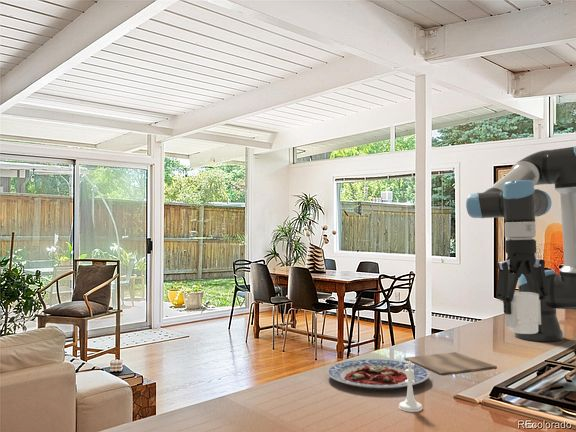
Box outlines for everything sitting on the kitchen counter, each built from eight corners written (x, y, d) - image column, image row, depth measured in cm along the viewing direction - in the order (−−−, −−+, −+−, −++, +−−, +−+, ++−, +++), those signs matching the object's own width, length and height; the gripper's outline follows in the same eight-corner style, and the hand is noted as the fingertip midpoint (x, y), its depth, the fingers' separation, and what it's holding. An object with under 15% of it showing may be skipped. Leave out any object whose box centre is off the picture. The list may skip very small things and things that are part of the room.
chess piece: (395, 404, 113) (394, 358, 113) (417, 403, 113) (416, 358, 114) (402, 412, 108) (401, 364, 108) (425, 411, 108) (424, 363, 109)
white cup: (544, 334, 131) (542, 295, 132) (511, 334, 133) (509, 295, 133) (535, 328, 139) (534, 291, 139) (504, 328, 141) (503, 291, 141)
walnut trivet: (455, 353, 158) (455, 352, 158) (496, 368, 141) (496, 366, 141) (404, 359, 152) (404, 357, 152) (440, 375, 135) (440, 373, 135)
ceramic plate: (413, 402, 115) (412, 388, 115) (310, 387, 128) (310, 375, 128) (440, 373, 138) (439, 362, 138) (350, 363, 150) (350, 353, 150)
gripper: (498, 240, 130) (502, 331, 129) (562, 237, 136) (565, 324, 136) (478, 239, 137) (482, 326, 136) (539, 237, 143) (543, 319, 143)
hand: (523, 325), depth 136 cm, fingers closed on white cup, 8 cm apart
